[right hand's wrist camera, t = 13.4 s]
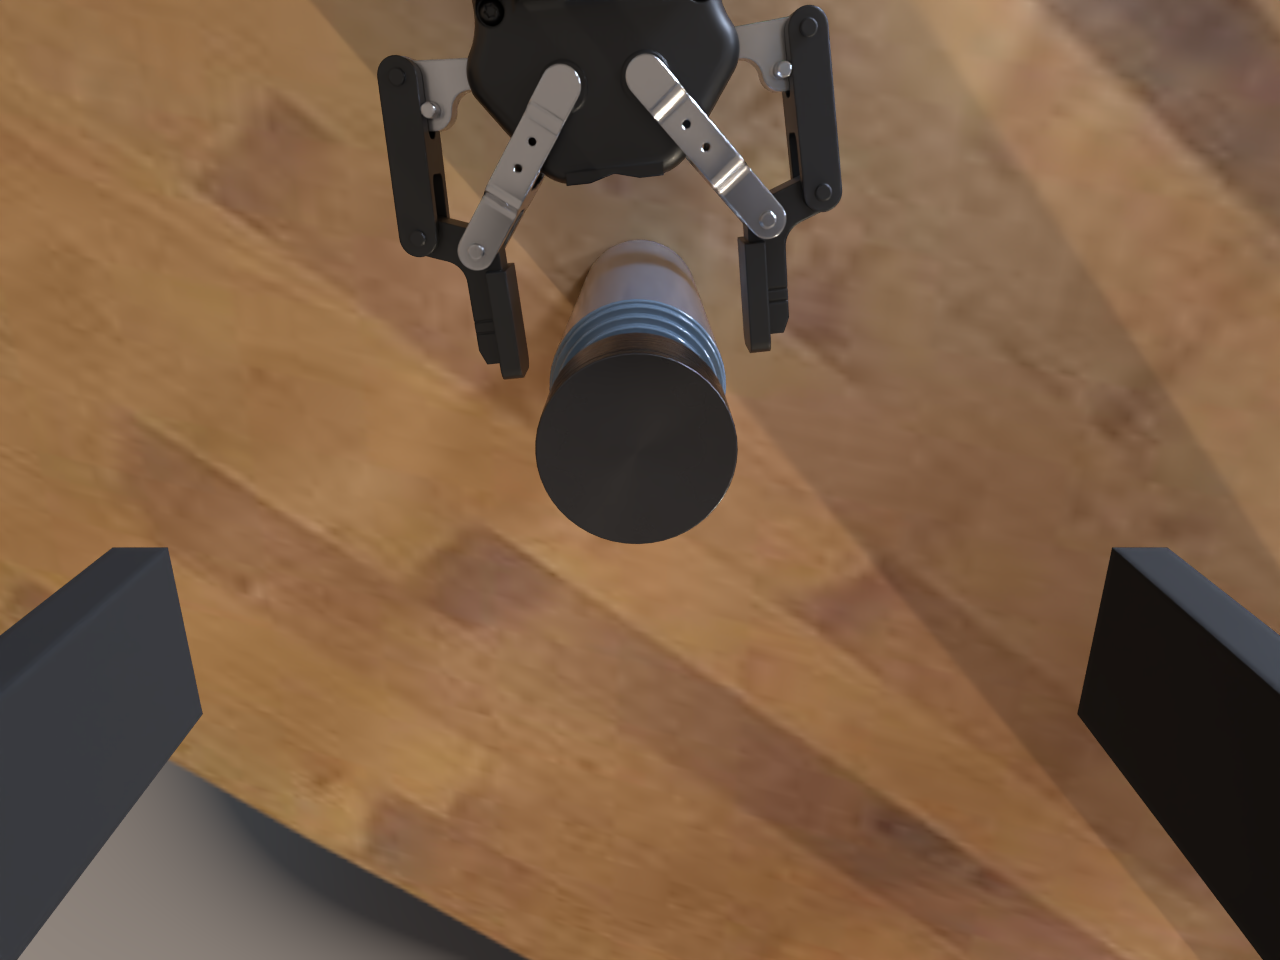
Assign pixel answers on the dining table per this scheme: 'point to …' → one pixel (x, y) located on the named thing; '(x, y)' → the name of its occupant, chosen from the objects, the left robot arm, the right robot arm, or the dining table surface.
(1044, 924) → the dining table surface
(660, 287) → the bottle
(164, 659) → the right robot arm
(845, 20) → the dining table surface
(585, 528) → the cap
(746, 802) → the dining table surface
